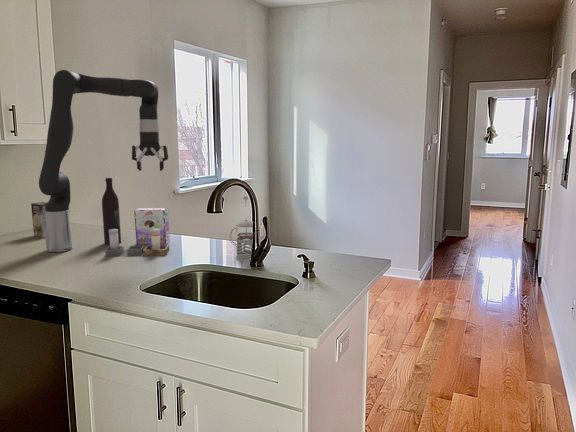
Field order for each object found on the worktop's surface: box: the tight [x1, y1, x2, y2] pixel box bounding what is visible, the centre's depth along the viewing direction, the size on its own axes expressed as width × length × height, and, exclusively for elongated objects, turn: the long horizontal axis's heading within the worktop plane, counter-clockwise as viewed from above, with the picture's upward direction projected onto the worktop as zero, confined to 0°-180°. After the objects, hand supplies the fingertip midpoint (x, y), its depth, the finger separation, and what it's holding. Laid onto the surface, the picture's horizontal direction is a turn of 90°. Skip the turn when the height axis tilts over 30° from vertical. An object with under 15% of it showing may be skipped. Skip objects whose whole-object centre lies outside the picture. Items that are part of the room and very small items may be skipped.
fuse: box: [109, 229, 120, 250], centre depth 201 cm, size 4×4×10 cm
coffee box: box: [30, 201, 47, 239], centre depth 241 cm, size 9×6×16 cm
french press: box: [229, 195, 254, 262], centre depth 196 cm, size 10×12×25 cm
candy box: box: [133, 207, 171, 245], centre depth 221 cm, size 14×6×16 cm, turn 84°
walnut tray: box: [142, 244, 170, 257], centre depth 204 cm, size 9×9×3 cm
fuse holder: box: [104, 245, 146, 258], centre depth 202 cm, size 14×9×3 cm, turn 96°
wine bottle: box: [101, 177, 122, 246], centre depth 220 cm, size 7×7×30 cm
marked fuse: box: [150, 229, 160, 250], centre depth 203 cm, size 4×4×10 cm
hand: (150, 170), depth 205 cm, fingers open, 8 cm apart
